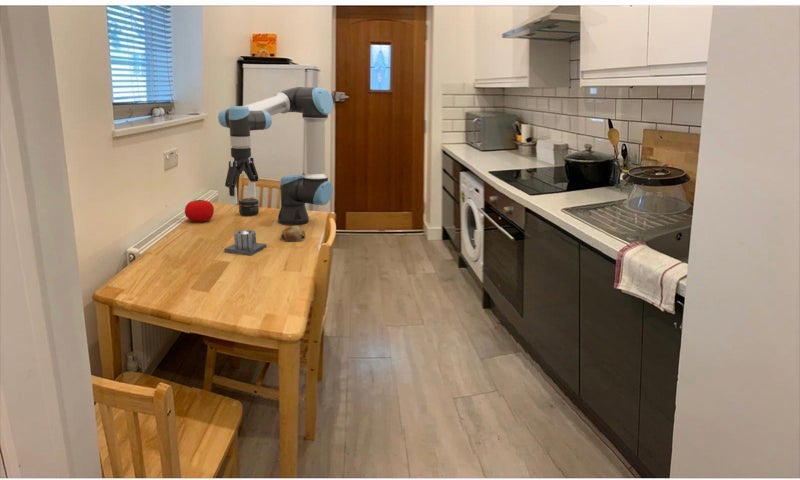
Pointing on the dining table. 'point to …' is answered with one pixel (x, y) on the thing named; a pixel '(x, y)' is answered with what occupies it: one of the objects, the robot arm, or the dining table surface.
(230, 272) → the dining table surface
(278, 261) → the dining table surface
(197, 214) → the tomato
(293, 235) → the bread roll
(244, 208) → the jar
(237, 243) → the tube
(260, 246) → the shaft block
